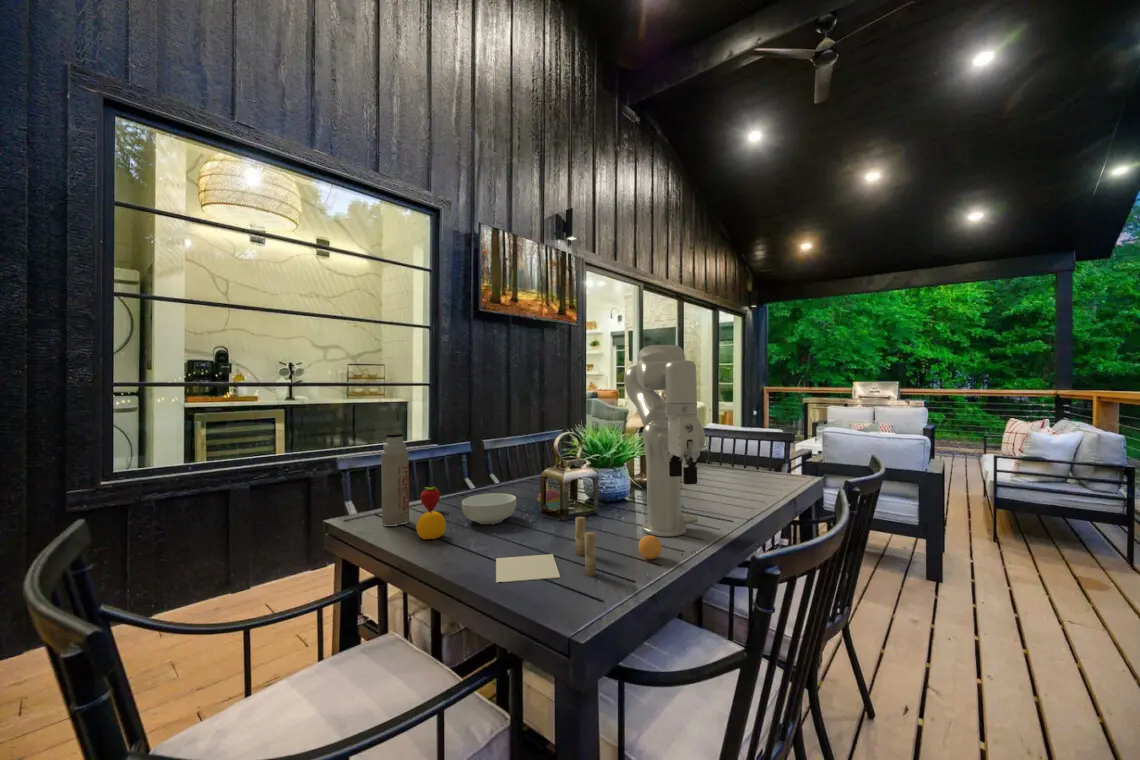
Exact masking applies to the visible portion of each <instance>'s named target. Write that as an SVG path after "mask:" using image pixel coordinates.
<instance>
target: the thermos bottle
mask: <svg viewBox="0 0 1140 760" xmlns="http://www.w3.org/2000/svg"><path fill="white" fill-rule="evenodd" d="M403 436H404V434H403V433H400V432H397V433H396V432H395V433H387V434H385V437H386V443H384V444H383V447H382V448H383V451H381V453H380V455H381V456H380V460H381V464H380V465H381V471H380V472H381V518H382V519H381V524H382V523H383V524H385V525H395V524H401V523H405V522H408V521H409V522H410V474H409V473H410V472H409V471H410V467H409V450H407V444H406V443H405V442H404V437H403Z"/></svg>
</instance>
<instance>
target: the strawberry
mask: <svg viewBox="0 0 1140 760" xmlns="http://www.w3.org/2000/svg"><path fill="white" fill-rule="evenodd" d="M419 497H420V498H419V499H420V501H421V504H422V505H423V506H424V507H425V508H426V509H427V512H429V511H432V510H433V511H435V510H434V509H435V508H436V507H437V505H438V503H439V501H440V497H441V493H440V491H439V489H438V487H436V486H432V484H430V487H429V486H426V487H425V486H424V489H423V491H422V492H421V493H420V496H419Z"/></svg>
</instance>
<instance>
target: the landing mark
mask: <svg viewBox="0 0 1140 760" xmlns="http://www.w3.org/2000/svg"><path fill="white" fill-rule="evenodd" d="M548 579H561V575H560V572H559V569H558V566H557V563H556V560H555V557H554V554H553V553H552V554H551V553H550V554H538V555H535V554H534V555H523V556H522V555H521V556H511V557H508V556H507V557H497V558H496V559H495V583H496V584H500V583H499V582H502V583H512V582H524V581H536V580H538V581H539V580H548Z"/></svg>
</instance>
